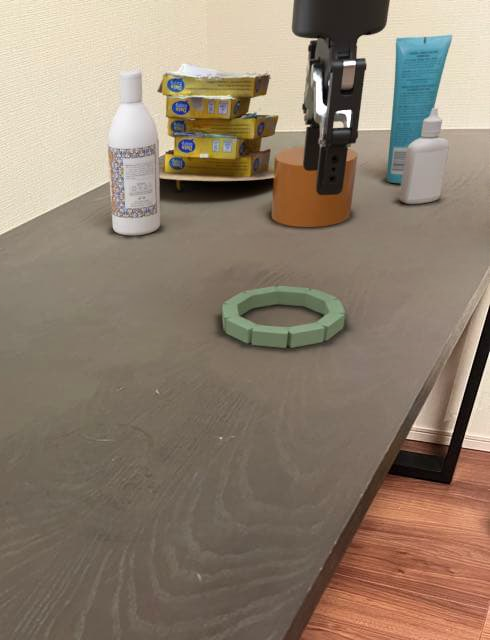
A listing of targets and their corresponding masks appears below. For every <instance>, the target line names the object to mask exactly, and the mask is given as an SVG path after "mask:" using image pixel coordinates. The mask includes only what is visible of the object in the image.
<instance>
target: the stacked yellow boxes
mask: <svg viewBox="0 0 490 640" xmlns="http://www.w3.org/2000/svg"><path fill="white" fill-rule="evenodd" d="M271 79H272V77H271V74H269V71H268V70H266V72H263V74H261V73H257V72H253V73H248V72H247V73H246V74H244V73H234V72H228V71H223V70H219V69H218V70H217V69H213V68H208V67H203V66H199V65H196V64H192V63H187V62H186V63H185V62H184V63H181V65H180V66H179V68H178V69H177V71H165V73H163V74H162V80H161V81H160V84H159V86H158V87H157V89H156V92H157V93H159V94H161V93H162V94H161V95H163V96H166V99H165V117H166V118H167V127H166V128H167V136H169V137H170V138H174V139H173V149H168V151H165V153H164V164H159V179H163V180H164V179H165V180H175V182H176V189H178V191H180V192H181V187H183V186H184V184H181V182H180V181H194V182H195V181H197V182H198V181H199V182H201V181H202V182H237V181H241V182H243V181H257V180H258V181H259V180H267V179H274V167H269V165H270V160H271V159H270V158H271V149H270V148H267V149H265V150H261V147H262V140H263V139H262V138H264V139H265V138H268V137H271V136H274V135H275V133H276V129H277V124H278V121H279V117H280V116H279V115H276V114H275V115H274V114H258V112H257V111H255V112H253V113H250V112H249V110H250V105H251V100H252V99H255V98H257V97H261V96H266V95H267V93H268V88H269V83H270V80H271ZM260 110H261V108H259V111H260Z"/></svg>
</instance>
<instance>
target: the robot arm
mask: <svg viewBox="0 0 490 640" xmlns="http://www.w3.org/2000/svg"><path fill="white" fill-rule="evenodd" d="M390 3H391V0H293V4H292V5H293V7H292V18H291V19H292V20H291V31H292V33H293V35H295V36H296V37H299V38H304V39H311V40H310V41H309V44H308V47H307V52H308V56H307V64H306V68H305V71H306V76H305V86H304V93H303V103H302V105H301V106H302V107H301V110H302V112H303V121H304V125H305V126H306V129H305V137H304V146H305V148H304V158H303V167H304V169H305V170H307V171H316V170H317V179H316V191H317V193H318V194H319V195H337V194H339V193H341V191H342V189H343V182H344V175H345V167H346V159H347V151H348V149H349V148H350V147H351V146H352V144H353V145H354V144H356V142H357V139H358V138H359V122H360V115H361V105H362V99H363V90H364V81H365V73H366V70H367V61H366V57H360V58H359V57H358V55H357V54H358V45H357V44H358V40H359V38H361V37H363V36H371V35H375V34H378V33H380V32H382V31H383V30H385V27H386V26H387V23H388V17H389V11H390ZM312 39H313V40H312ZM357 57H358V58H357ZM335 122H336V123H338V122H341V123H342V124H343V125H342V126H343V127H334V125H335V124H334V123H335Z"/></svg>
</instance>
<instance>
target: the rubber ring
mask: <svg viewBox="0 0 490 640" xmlns="http://www.w3.org/2000/svg"><path fill="white" fill-rule="evenodd" d="M275 305H281V306H292V307H293V306H294V307H304V308H306V309H308V310H311V311H314V312H316V313H319V314H321V315H323V316H322V317H321V318H319V319H318V320H317V321H315V322H311V323H306V324H300V325H294V326H289V327H288V326H275V325H264V324H258V323H255V322H253V321H252V320H249V319H247V318H244V317H243V316H242V315H244V314H245V313H248V311H250V310H252V309H257V308H258V309H259V308H264V307H269V306H275ZM221 307H222V309H221V310H222V311H221V319H222V320H221V321H222V327H223V328H222V329H223V332H225V334H227V335H228V336H230V337H233V338H234V339H236V340H238V341H240V342H243V343H244V344H247V345H248V344H250V345H251V346H259V347H268V348H280V349H286V348H287V347H289V348H290V349H293V348H298V347H305V346H309V345H315V344H321V343H323V342H324V341H325V342H328V341H329V340H330V339H331V338H333V337H334V336H335V335H336V334H338V333H339V332H340V331H342V330H343V329H344V326H345V320H346V311H345V308H344V306H343V304H342V300H341V299H338V297H336V296H334V295H331V294H329V293H326V292H324V291H321V290H319V289H316V288H312V289H311V287H301V286H290V285H289V286H288V285H287V286H286V285H278V286H277V287H276V286H275V285H272V286H271V285H270V286H266V287H260V288H254V289H249V290H244V291H240V292H239V293H237V294H235V295H234V296H232V297H231V298H229V299H228V300H225V301H224V302H223V304H222V306H221Z"/></svg>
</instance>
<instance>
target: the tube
mask: <svg viewBox="0 0 490 640" xmlns="http://www.w3.org/2000/svg"><path fill="white" fill-rule="evenodd" d="M452 39H453V34H444V35H432V36H412V37H411V36H404V37H396V39H395V65H394V66H395V67H394V83H393V85H394V87H393V98H392V99H393V100H392V111H391V123H390V137H389V145H388V147H389V148H388V158H387V166H386V167H387V168H386V178H385V179H386V182H388V183H392V184H399V185H401V182H402V176H403V170H404V164H405V158H406V152H407V148H408V146H409V145H410V144H411V143H412V142H413V141H415V140H417V139H419V138H421V137H422V136H421V132H422V126H423V120H424V119H426V118H428V117H429V116H430V113H431V110H432V108H435V107H436V101H437V98H438V93H439V89H440V84H441V81H442V76H443V73H444V69H445V65H446V61H447V57H448V54H449V50H450V48H451V43H452Z"/></svg>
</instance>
